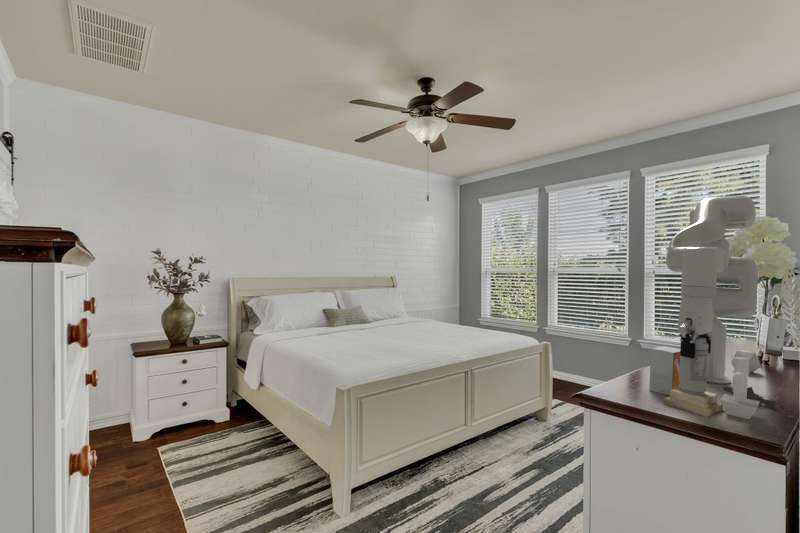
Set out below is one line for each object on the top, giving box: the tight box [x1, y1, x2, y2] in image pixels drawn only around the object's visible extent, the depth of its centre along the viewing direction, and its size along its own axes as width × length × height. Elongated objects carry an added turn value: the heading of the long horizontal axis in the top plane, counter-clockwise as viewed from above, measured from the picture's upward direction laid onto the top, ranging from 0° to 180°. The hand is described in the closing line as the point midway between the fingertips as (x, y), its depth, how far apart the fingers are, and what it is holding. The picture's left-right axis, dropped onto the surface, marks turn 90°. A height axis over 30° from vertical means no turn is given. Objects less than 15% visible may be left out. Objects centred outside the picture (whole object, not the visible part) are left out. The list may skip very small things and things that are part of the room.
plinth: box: [663, 387, 724, 417], centre depth 106 cm, size 10×10×4 cm
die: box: [729, 349, 761, 374], centre depth 145 cm, size 8×9×10 cm
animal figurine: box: [722, 385, 777, 409], centre depth 111 cm, size 12×4×5 cm, turn 43°
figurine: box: [719, 357, 760, 420], centre depth 101 cm, size 7×9×15 cm
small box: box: [648, 345, 681, 397], centre depth 119 cm, size 8×6×13 cm
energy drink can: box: [679, 335, 708, 395], centre depth 106 cm, size 6×6×15 cm
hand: (695, 354), depth 106 cm, fingers open, 9 cm apart
